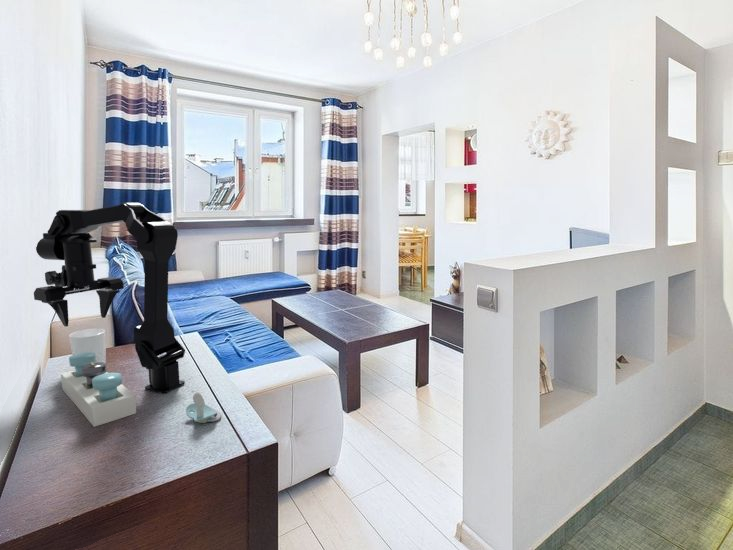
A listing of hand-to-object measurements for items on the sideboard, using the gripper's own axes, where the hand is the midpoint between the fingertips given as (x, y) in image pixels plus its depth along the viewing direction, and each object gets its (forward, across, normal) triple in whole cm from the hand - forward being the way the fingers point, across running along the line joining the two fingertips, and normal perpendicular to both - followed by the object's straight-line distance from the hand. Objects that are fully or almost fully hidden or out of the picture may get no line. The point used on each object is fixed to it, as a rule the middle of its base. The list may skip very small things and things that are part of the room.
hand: (85, 321), depth 107 cm
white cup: (+14, -2, -4) cm, 15 cm away
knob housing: (+14, +8, +16) cm, 23 cm away
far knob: (+10, +6, +8) cm, 14 cm away
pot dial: (+11, +8, +17) cm, 21 cm away
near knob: (+11, +11, +25) cm, 30 cm away
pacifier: (+15, +3, +44) cm, 47 cm away
